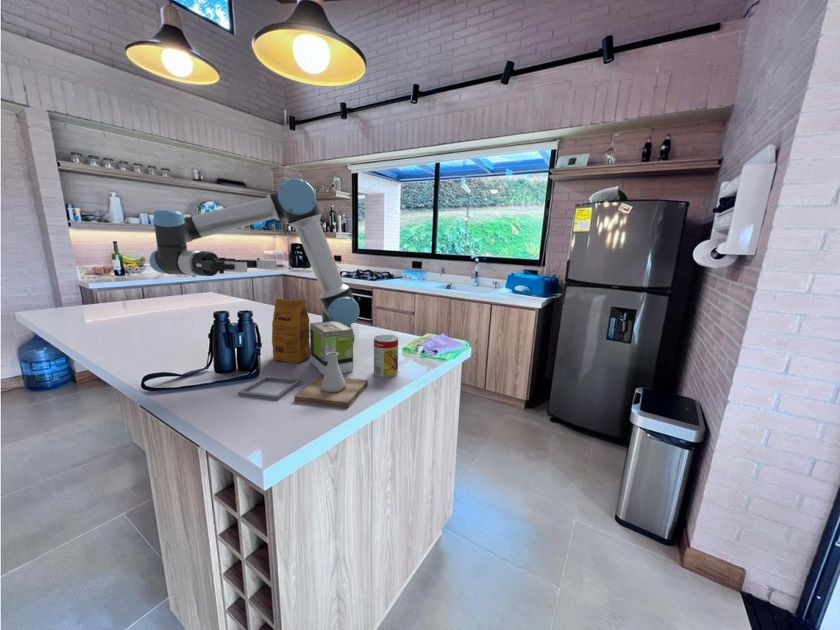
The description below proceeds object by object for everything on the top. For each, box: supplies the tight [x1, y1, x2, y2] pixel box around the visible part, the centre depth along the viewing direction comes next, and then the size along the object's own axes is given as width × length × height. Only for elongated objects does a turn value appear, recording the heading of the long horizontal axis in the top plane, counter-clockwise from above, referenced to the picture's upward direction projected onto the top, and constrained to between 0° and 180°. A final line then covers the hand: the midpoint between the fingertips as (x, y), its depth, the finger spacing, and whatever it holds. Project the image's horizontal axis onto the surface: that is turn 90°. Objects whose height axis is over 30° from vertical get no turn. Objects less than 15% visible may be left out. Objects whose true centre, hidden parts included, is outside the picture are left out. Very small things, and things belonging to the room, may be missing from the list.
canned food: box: [373, 334, 399, 378], centre depth 108 cm, size 8×8×12 cm
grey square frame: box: [237, 375, 303, 401], centre depth 94 cm, size 12×12×1 cm
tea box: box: [309, 321, 354, 375], centre depth 111 cm, size 15×10×15 cm
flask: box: [320, 352, 346, 392], centre depth 92 cm, size 7×7×10 cm
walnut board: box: [294, 374, 369, 409], centre depth 93 cm, size 15×15×2 cm
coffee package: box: [271, 297, 311, 363], centre depth 118 cm, size 10×12×22 cm
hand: (262, 266), depth 99 cm, fingers open, 13 cm apart
